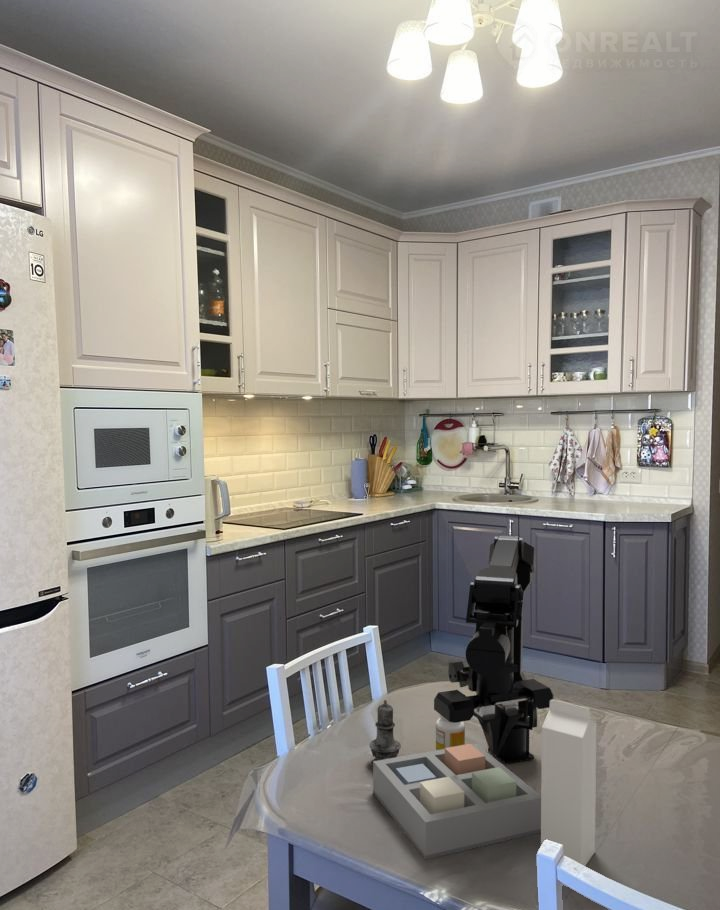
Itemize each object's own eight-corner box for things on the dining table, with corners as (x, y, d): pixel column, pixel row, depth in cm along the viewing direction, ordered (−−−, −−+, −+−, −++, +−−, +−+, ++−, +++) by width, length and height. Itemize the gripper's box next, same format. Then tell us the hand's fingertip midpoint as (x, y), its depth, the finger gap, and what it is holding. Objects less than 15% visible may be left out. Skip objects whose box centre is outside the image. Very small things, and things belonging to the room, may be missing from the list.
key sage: (498, 792, 111) (498, 767, 111) (516, 808, 107) (516, 781, 106) (471, 798, 109) (471, 772, 109) (488, 814, 105) (488, 786, 105)
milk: (555, 838, 103) (556, 692, 103) (595, 852, 100) (597, 701, 100) (539, 857, 99) (541, 704, 98) (581, 873, 95) (583, 714, 95)
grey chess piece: (398, 773, 124) (398, 707, 123) (366, 769, 125) (366, 704, 125) (402, 758, 129) (403, 695, 129) (372, 755, 130) (372, 692, 130)
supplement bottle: (466, 756, 130) (467, 705, 130) (461, 769, 125) (462, 716, 125) (439, 752, 132) (439, 702, 132) (432, 764, 127) (433, 712, 127)
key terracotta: (470, 767, 120) (470, 743, 120) (485, 780, 115) (485, 756, 115) (444, 772, 118) (444, 748, 118) (458, 785, 113) (459, 760, 113)
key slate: (422, 788, 117) (422, 763, 116) (436, 802, 112) (436, 777, 112) (395, 793, 115) (395, 768, 115) (408, 808, 110) (408, 782, 110)
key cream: (448, 803, 108) (448, 776, 108) (464, 819, 103) (464, 791, 103) (419, 808, 106) (419, 782, 106) (434, 825, 101) (434, 797, 101)
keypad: (475, 773, 124) (476, 743, 123) (542, 832, 105) (543, 797, 105) (373, 792, 116) (373, 761, 116) (425, 859, 98) (425, 822, 98)
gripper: (516, 635, 118) (515, 725, 119) (418, 646, 112) (418, 741, 112) (556, 654, 108) (555, 752, 108) (451, 668, 101) (450, 772, 102)
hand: (494, 753), depth 108 cm, fingers closed
